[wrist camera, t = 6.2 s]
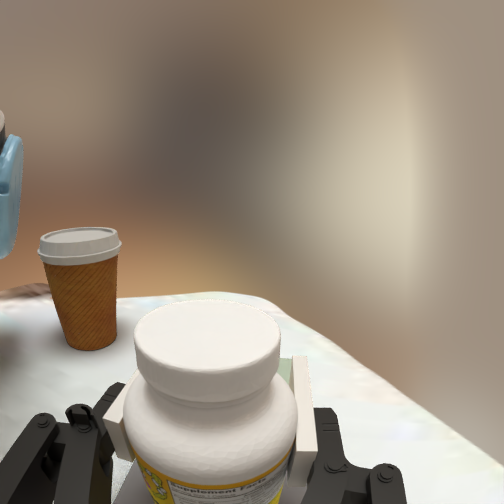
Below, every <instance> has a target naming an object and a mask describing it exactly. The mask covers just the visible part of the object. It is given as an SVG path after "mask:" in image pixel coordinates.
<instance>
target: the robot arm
mask: <svg viewBox="0 0 504 504" xmlns="http://www.w3.org/2000/svg"><path fill="white" fill-rule="evenodd" d="M22 170H23V145H22V139H21V138H20V137H18V136H14V135H10V136H8V137H6V136H5V120H4V114H3V112H2V111H1V110H0V259H2V258H4V257H6V256H7V255H8V254H9V253H10V252H11V251H12V249H13V247H14V243H15V240H16V234H17V227H18V218H19V208H20V196H21V184H22ZM139 374H140V372H139V370H138V368H137V370H136V371H135V373H134V374H133V375H132V377H131V378H130V380H129V381H128V382H127V384H123V383H119V382H117V383H115V384H113V385H112V386H110V387H109V388H108V389H107V391H106V392H105V393H104V395H103V396H102V397H101V399H100V400H99V401H98V402H97V404H96V405H95V406H94V408H93V409H92V408H91V407H89V406H88V405H85V404H75V405H72V406H70V407H69V408H67V410H66V412H65V414H66V416H67V418H68V421H69V423H70V424H69V423H60V422H56V419H55V418H54V416H53V415H51V414H49V413H40V414H37V415H35V416H34V417H33V418H32V419H31V421H30V422H29V423H28V425H27V426H26V428H25V429H24V430H23V432H22V433H21V434H20V436H19V437H18V438H17V440H16V441H15V443H14V444H13V445H12V447H11V448H10V450H9V451H8V453H7V454H6V455H5V457H4V458H3V460H2V461H1V463H0V504H52V503H53V501H54V504H111V489H112V472H113V459H112V457H111V456H112V455H113V453H114V451H115V452H116V455H117V457H118V458H120V459H123V460H127V461H130V462H133V461H134V459H135V455H134V453H133V450H132V447H131V445H130V442H129V439H128V436H127V433H126V429H125V426H124V421H123V405H124V400H125V397H126V394H127V392H128V389H129V388H130V386H131V384H132V383H133V381H134V380H135V379H136V378H137V377H138V375H139ZM288 385H289V387H290V389H291V390H292V392H293V394H294V397H295V400H296V403H297V408H298V425H297V430H296V434H295V439H294V443H293V447H292V451H291V455H290V459H289V463H288V467H287V487H305V486H306V483H307V490H306V492H305V495H304V497H303V499H302V501H301V504H407V501H406V495H405V489H404V484H403V478H402V474H401V472H400V470H399V469H398V468H397V467H396V466H394V465H392V464H386V463H383V464H379V465H377V466H375V467H374V468H373V469H367V468H361V467H357V466H354V465H352V464H351V463H350V462H349V461H348V460H347V459H346V458H345V455H344V451H343V445H342V440H341V435H340V431H339V430H340V429H339V425H338V419H337V415H336V414H335V412H334V411H333V410H332V409H331V408H313V401H312V393H311V385H310V377H309V369H308V361H307V356H292V364H291V371H290V378H289V384H288Z"/></svg>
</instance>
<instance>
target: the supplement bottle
mask: <svg viewBox="0 0 504 504" xmlns="http://www.w3.org/2000/svg"><path fill="white" fill-rule="evenodd" d="M280 341H281V334H280V329H279V326H278V325H277V323H276V322H275V320H274V319H273V318H272V317H270V316H269V315H268V314H267V313H265V312H263V311H261V310H259V309H257V308H255V307H252V306H249V305H246V304H243V303H238V302H233V301H226V300H216V299H201V300H189V301H181V302H175V303H171V304H167V305H164V306H161V307H158V308H156V309H154V310H152V311H150V312H149V313H147V314H146V315H145V316H144V317H142V318H141V319H140V320H139V322H138V323H137V325H136V327H135V330H134V344H135V351H136V359H137V366H138V370H139V372H140V374H139V375H138V377H137V378H136V379H135V380H134V381H133V383H132V384H131V386H130V388H129V389H128V392H127V394H126V397H125V400H124V405H123V421H124V426H125V429H126V433H127V436H128V439H129V442H130V445H131V447H132V450H133V453H134V455H135V458H136V460H137V463H138V466H139V468H140V471H141V473H142V476H143V478H144V481H145V483H146V486H147V488H148V490H149V492H150V495H151V497H152V499H153V501H154V503H155V504H278V502H279V498H280V494H281V491H282V487H283V483H284V479H285V475H286V471H287V467H288V463H289V459H290V455H291V451H292V447H293V443H294V439H295V434H296V430H297V425H298V408H297V403H296V400H295V397H294V394H293V392H292V390H291V389H290V387H289V385H288V384H287V383H286V381H285V380H284V379H283V378H282V377H281V376H280V375H279V374H278V373H277V370H278V367H279V358H280Z"/></svg>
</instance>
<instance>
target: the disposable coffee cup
mask: <svg viewBox="0 0 504 504" xmlns="http://www.w3.org/2000/svg"><path fill="white" fill-rule="evenodd" d="M121 244H122V243H121V241H119V239H118V235H117V231H116V230H114V229H111V228H104V227H82V228H72V229H64V230H59V231H55V232H51V233H48V234H45V235H43V236H42V237H41V239H40V248H39V249H38V254H39V256H40V259H41V260H42V261H43V264H44V268H45V272H46V276H47V280H48V284H49V287H50V291H51V294H52V298H53V301H54V304H55V308H56V311H57V314H58V317H59V320H60V323H61V326H62V329H63V332H64V334H65V337H66V340H67V342H68V344H69V345H70V346H71V347H73V348H75V349H79V350H96V349H100V348H103V347H106V346H108V345H110V344H111V343H112V342H113V341H114V340H115V339H116V336H117V333H116V286H117V284H116V283H117V282H116V281H117V258H118V253H119V252H120V247H121V246H122V245H121Z"/></svg>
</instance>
